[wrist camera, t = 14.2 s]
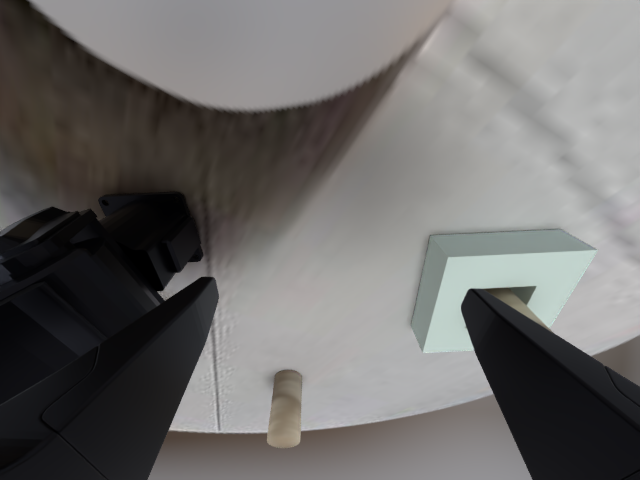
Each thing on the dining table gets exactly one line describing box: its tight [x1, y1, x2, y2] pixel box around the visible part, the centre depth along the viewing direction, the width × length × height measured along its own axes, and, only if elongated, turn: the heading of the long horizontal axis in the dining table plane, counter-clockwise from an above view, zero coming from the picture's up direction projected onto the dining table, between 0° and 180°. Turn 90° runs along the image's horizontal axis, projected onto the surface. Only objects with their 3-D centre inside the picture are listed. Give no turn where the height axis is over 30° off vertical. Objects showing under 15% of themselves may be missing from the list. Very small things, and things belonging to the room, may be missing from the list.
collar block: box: [411, 229, 598, 353], centre depth 25 cm, size 12×12×4 cm
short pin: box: [267, 370, 302, 448], centre depth 31 cm, size 4×4×7 cm
